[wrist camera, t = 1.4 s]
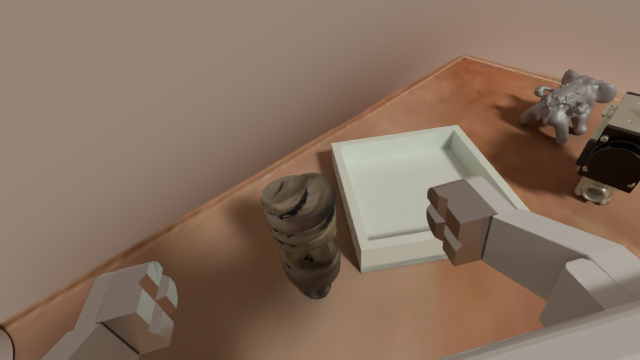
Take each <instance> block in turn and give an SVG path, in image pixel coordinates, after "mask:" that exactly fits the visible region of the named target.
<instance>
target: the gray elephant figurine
mask: <svg viewBox="0 0 640 360" xmlns="http://www.w3.org/2000/svg"><path fill="white" fill-rule="evenodd" d="M561 84H562V85H561V86H560V87H558V88H556V89H555V90H553V89H550V88H549V87H546V86H545V85H542V86H539V87H538V88H537V89H536V90H535V91H534V94H535V95H536V96H538V97H541V100H540V102H538V103H536V104H535V105H533V106H531V107H530V108H529V109H527V110H526V111H525V112H523V113H522V114H521V116H520V123H521V124H522V125H525V124H527V123H528V122H529V121H530V120H532V119H533V118H536V120H537V121H541V120H543V121H542V123H543V124H544V126H547V125H551V126H554V128H555V132H556V138H555V142H556V143H557V144H559V145H563V144H565V143H567V142H568V139H569V133H568V131H569V128H568V124H569V121H570V118H571V121H572V125H573V131H574V133H575V134H578V135H581V134H585V133H586V132H587V126H586V123H587V120H588V118H589V116H590V114H591V111H592V108H593V106H594V104H595V102H598V103H609V102H611V101H612V100H613V99H614V98H615V96H616V88H615V86H614V85H612V84H607V83H603V80H599V81H596V79H594V78H590V77H588V76H585V75H583V76H579V75H578V74H577V73H576V72H575V71H573V70H571V69H569V70H568V71H567V72H565V74H564V76H563V78H562V81H561ZM545 90H548V91H549V92H550V93H547V94H546V95H545V96H544V91H545Z"/></svg>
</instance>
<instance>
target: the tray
mask: <svg viewBox="0 0 640 360" xmlns="http://www.w3.org/2000/svg"><path fill="white" fill-rule="evenodd" d="M331 149H332V163H333V169H334V173H335V176H336V180H337V184H338V188H339V192H340V195H341V199H342V203H343V207H344V211H345V214H346V218H347V222H348V226H349V230H350V233H351V237H352V241H353V245H354V249H355V252H356V256H357V260H358V264H359V267H360V271H361V273H365V272H371V271H377V270H383V269H389V268H395V267H401V266H407V265H413V264H419V263H425V262H431V261H437V260H443V259H449V258H448V257H447V255H446V254H445V252H444V251H443V249H442V248H443V241H441V240H439V239H437V238H435V237H434V235H433V233H432V232H431V230H430V228H429V225H428V222H427V217H426V208H427V207H428V206H429V205H430V201H429V200H428V199H427V191H428V189H429V188H430V187H434V186H438V185H441V184H445V183H449V182H452V181H456V180H461V179H463V178H467V177H470V176H474V175H481V176H482V177H483V178H484V179H485V180H486V181H487V182H488V183H489V184H490V185H491V186H493V187H494V188H495V189H496V190H497V191H498V192H499V193H500V194H501V195H502V196H503V197H504V198H505V199H506V200H507V201H508V202H509V203H510V204H511V205H512V206H513V207H514V208H515V209H516V210H517V209H524V210H527V211H530V210H529V209H528V208H527V207H526V206H525V204H524V203H523V202H522V201H521V200H520V198H519V197H518V196H517V195H516V194H515V193H514V191H513V190H512V189H511V188H510V187H509V185H508V184H507V183H506V182H505V181H504V179H503V178H502V177H501V176H500V175H499V174H498V172H497V171H496V170H495V169H494V168H493V166H492V165H491V164H490V163H489V162H488V160H487V159H486V158H485V157H484V156H483V155H482V153H481V152H480V151H479V150H478V149H477V147H476V146H475V145H474V144H473V143H472V142H471V140H470V139H469V138H468V137H467V136H466V134H465V133H464V132H463V131H462V130H461V128H460V127H459V126H458V125H454V126H447V127H440V128H433V129H426V130H419V131H412V132H406V133H399V134H392V135H385V136H378V137H371V138H365V139H358V140H351V141H344V142H337V143H331ZM530 212H531V211H530Z"/></svg>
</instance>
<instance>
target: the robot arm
mask: <svg viewBox="0 0 640 360" xmlns="http://www.w3.org/2000/svg"><path fill="white" fill-rule="evenodd" d="M427 199H428V200H429V201H430V205H429V206H428V207H427V208H426V217H427V222H428V225H429V228H430V230H431V232H432V233H433V235H434V237H435V238H437V239H439V240H441V241H443V248H442V249H443V251H444V252H445V254H446V255H447V257H448V258H449V260H450V261H451V263H452V264H453V266H458V265H462V264H466V263H470V262H474V261H478V260H482V261H483V262H484V263H486V264H488V265H489V266H491V267H493V268H494V269H496V270H497V271H499V272H501V273H502V274H504V275H506V276H507V277H509V278H510V279H512V280H514V281H515V282H517V283H518V284H520V285H522V286H523V287H525V288H527V289H528V290H530V291H531V292H533V293H535V294H536V295H538V296H540V297H541V298H543V299H544V300H546V301H547V302H546V304H545V306H544V308H543V310H542V312H541V314H540V317H539V321H540V322H541V323H542V324H543V326H544V328H541V329H538V330H534V331H531V332H527V333H524V334H521V335H517V336H514V337H510V338H507V339H503V340H500V341H497V342H493V343H490V344H486V345H483V346H480V347H476V348H473V349H469V350H466V351H462V352H459V353H456V354H452V355H449V356H445V357H442V358H439V359H435V360H640V259H639V258H637V257H636V256H635V255H634V254H632V253H631V252H630V251H629V250H628V249H626V248H625V247H624V246H623V245H620V244H617V243H614V242H612V241H609V240H606V239H603V238H601V237H598V236H595V235H593V234H590V233H587V232H584V231H582V230H579V229H576V228H573V227H571V226H568V225H565V224H562V223H560V222H557V221H554V220H551V219H549V218H546V217H543V216H541V215H538V214H535V213H532V212H530V211H527V210H524V209H517V210H516V209H515V208H514V207H513V206H512V205H511V204H510V203H509V202H508V201H507V200H506V199H505V198H504V197H503V196H502V195H501V194H500V193H499V192H498V191H497V190H496V189H495V188H494V187H493V186H491V185H490V184H489V183H488V182H487V181H486V180H485V179H484V178H483V177H482V176H481V175H474V176H470V177H467V178H463V179H461V180H456V181H452V182H449V183H445V184H441V185H438V186H434V187H430V188H429V189H428V191H427ZM162 270H163V268H162V266H161V265H160V264H159V263H158V262H157V261H152V262H148V263H144V264H139V265H135V266H131V267H127V268H123V269H119V270H116V271H112V272H107V273H103V274H100V275H99V276H98V277H97V278H96V279H95V280H94V283H93V285H92V287H91V290H90V292H89V295H88V297H87V299H86V302H85V304H84V306H83V309H82V311H81V313H80V316H79V318H78V320H77V323H76V325H75V328H74V330H72V331H69V332H67V333H66V334H65V335H64V336H63V337H62V338H61V339H60V340H59V341H58V342H57V343H56V344H55V345H54V346H53V347H52V348H51V349H50V350H49V351H48V352H47V353H46V354H45V355H44V356H43V357H42V358H41V359H40V360H138V359H139V358H140V356H139V355H141V354H145V353H148V352H151V351H154V350H158V349H161V348H164V347H167V346H170V343H171V338H172V332H173V326H174V322H173V321H172V319H171V318H170V316H171V315H172V314H173V312H174V311H175V310H176V308H177V301H178V296H177V288H176V286H175V284H174V282H173V280H172V279H171V278H170V277H168V276H165V275H163V274H162ZM0 360H13V348H12V344H11V341H10V339H9V337H8V336H7V334H6V333H5V332H4V331H2V330H1V329H0Z"/></svg>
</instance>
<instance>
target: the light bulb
mask: <svg viewBox="0 0 640 360" xmlns="http://www.w3.org/2000/svg"><path fill="white" fill-rule="evenodd" d="M335 198H336V195H335V189H334V186H333V184H332V182H331V181H330V180H329V179H328V178H327V177H326V176H324V175H322V174H319V173H306V174H302V175H291V176H285V177H282V178H279V179H276V180H274V181H273V182H271V183H269V184H268V185H267V186H266V187H265V188H264V190H263V191H262V194H261V204H262V206H263V208H264V209H265V218H266V220H267V222H268V223H269V224H270V229H271V231H272V233H273V238H274V240H275V243H276V245H277V246H278V247H279V248H280V257H281V262H282V265H283V268H284V270H285V272H286V274H287V277H288V278H289V280H290V281H291V282H292V283H293V284H294V285H295V286H297V287H298V288H300V289H303V290H304V291H305V294H306V295H307V296H308V297H310V298H312V299H321V298H324V297H325V296H326V295H327V294H328V293H329V291H330V288H331V283H332V282H333V281H334V280H335V278H336V277H337V276H338V273H339V270H340V248H339V243H338V241H337V239H336V238H335V235H336V233H337V227H336V221H337V218H336V210H337V206H336V200H335Z"/></svg>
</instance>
